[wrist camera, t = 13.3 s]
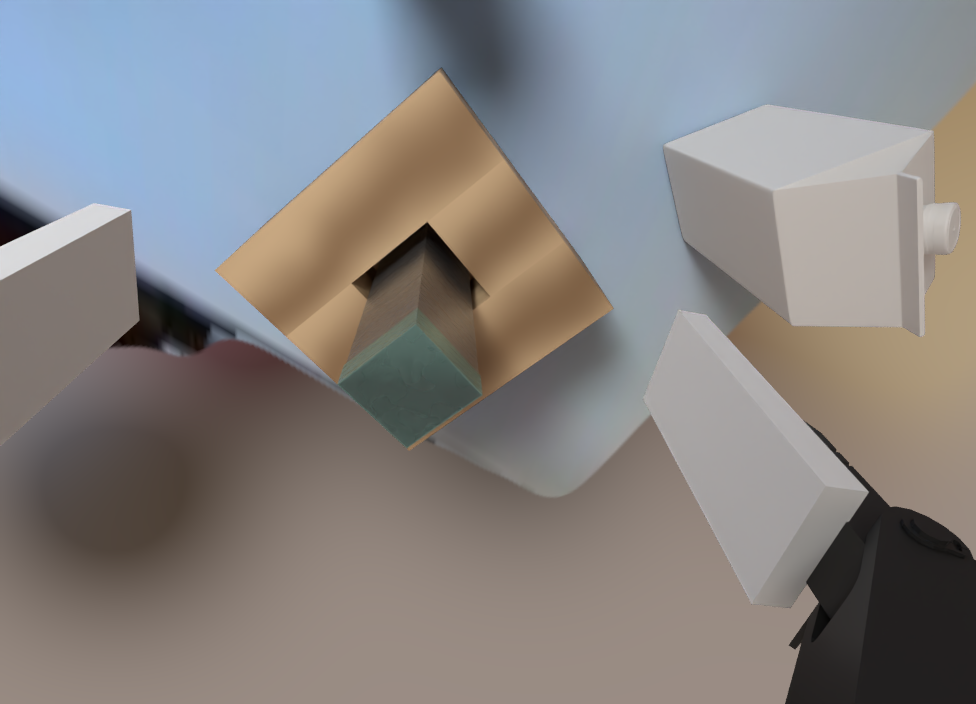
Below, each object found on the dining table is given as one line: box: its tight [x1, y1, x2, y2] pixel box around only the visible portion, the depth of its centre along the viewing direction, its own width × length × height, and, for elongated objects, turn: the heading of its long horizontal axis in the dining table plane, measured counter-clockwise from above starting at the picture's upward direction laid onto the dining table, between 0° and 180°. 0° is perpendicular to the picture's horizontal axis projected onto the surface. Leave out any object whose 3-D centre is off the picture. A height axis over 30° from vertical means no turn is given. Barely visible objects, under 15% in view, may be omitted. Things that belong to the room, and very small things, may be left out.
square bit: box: [337, 222, 483, 448], centre depth 30 cm, size 4×4×16 cm
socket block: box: [215, 68, 614, 450], centre depth 37 cm, size 16×16×9 cm
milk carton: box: [663, 104, 961, 337], centre depth 32 cm, size 7×7×19 cm
